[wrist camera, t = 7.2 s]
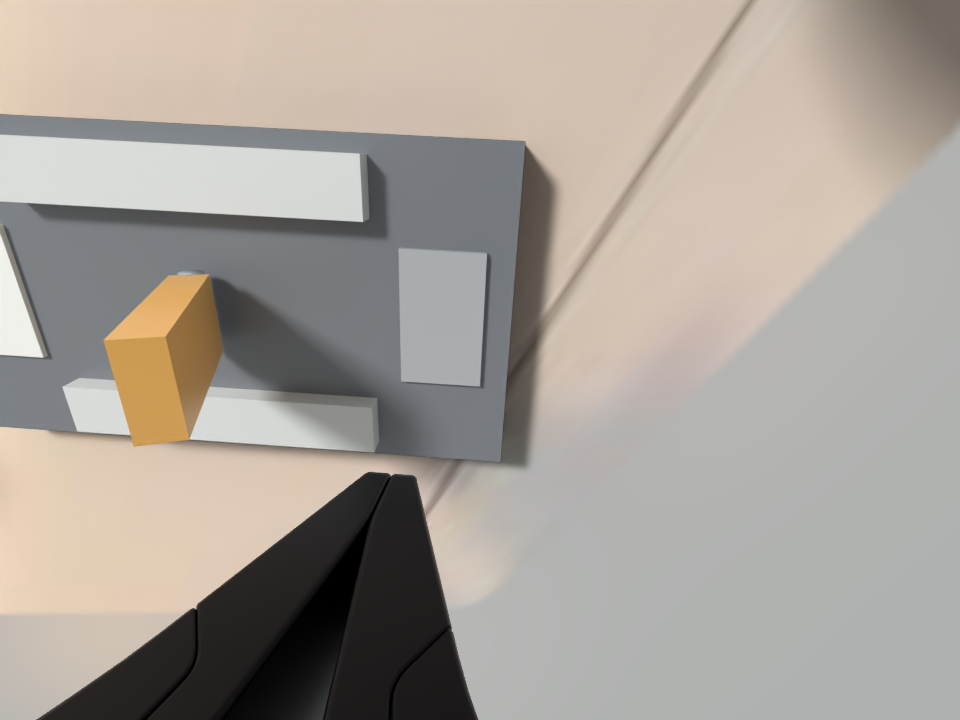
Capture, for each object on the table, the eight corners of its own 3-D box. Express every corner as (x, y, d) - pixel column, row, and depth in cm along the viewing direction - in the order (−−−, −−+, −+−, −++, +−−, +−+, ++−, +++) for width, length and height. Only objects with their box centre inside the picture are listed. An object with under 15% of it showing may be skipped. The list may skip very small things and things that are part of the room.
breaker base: (523, 142, 16) (526, 140, 14) (500, 440, 21) (500, 473, 19) (-98, 110, 17) (-189, 103, 15) (17, 406, 22) (-38, 435, 19)
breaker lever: (212, 269, 17) (165, 336, 11) (225, 343, 18) (189, 439, 12) (173, 270, 16) (103, 340, 11) (189, 346, 17) (133, 446, 12)
